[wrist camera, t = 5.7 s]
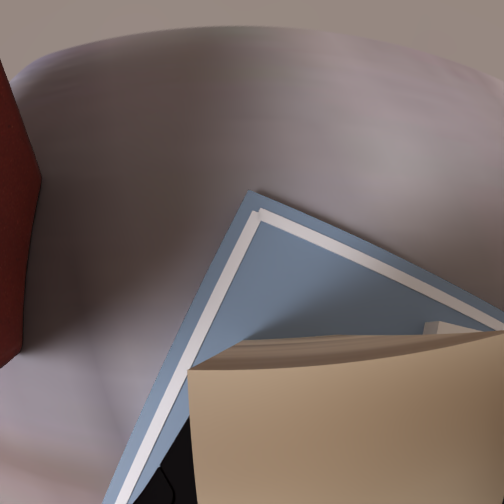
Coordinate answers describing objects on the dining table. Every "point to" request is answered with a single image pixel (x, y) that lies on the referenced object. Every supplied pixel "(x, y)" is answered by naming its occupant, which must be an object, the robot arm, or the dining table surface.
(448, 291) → the board
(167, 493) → the robot arm
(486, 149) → the dining table surface
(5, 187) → the plant pot
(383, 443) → the maple pillar
